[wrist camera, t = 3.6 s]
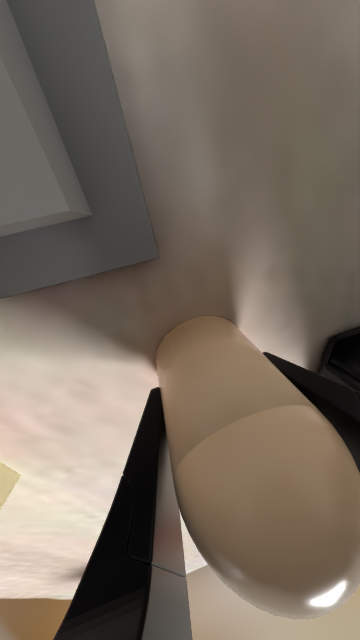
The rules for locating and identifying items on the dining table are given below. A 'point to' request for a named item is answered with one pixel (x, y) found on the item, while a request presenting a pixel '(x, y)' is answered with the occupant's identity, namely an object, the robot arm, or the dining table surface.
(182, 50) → the dining table surface
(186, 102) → the dining table surface
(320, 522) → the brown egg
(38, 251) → the egg holder
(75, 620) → the robot arm
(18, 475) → the milk carton
